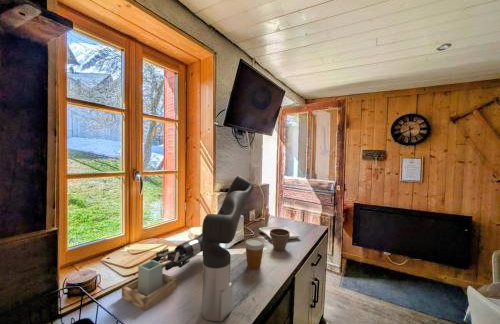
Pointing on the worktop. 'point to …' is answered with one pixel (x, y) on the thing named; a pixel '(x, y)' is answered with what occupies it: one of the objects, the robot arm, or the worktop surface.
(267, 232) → the salad plate
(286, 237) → the flower pot
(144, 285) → the square green vase
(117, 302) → the worktop surface
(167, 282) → the pine crate
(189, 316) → the worktop surface
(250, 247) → the disposable coffee cup
